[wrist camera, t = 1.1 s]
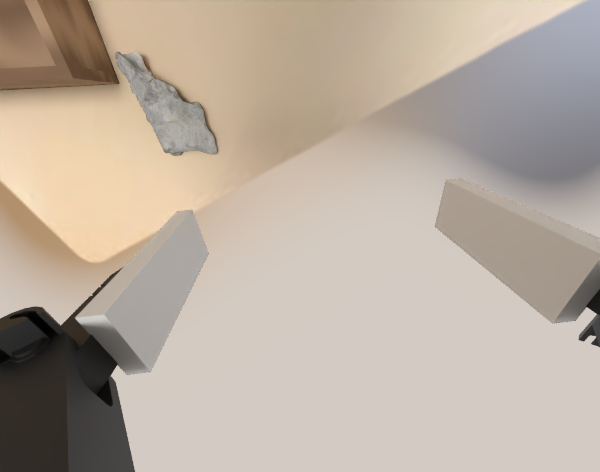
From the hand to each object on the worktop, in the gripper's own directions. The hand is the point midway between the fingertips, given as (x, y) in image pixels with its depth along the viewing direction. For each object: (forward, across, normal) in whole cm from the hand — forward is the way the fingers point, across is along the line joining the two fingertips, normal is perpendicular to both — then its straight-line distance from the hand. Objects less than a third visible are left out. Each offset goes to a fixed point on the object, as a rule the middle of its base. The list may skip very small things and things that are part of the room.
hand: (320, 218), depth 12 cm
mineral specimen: (+24, -15, +5) cm, 29 cm away
